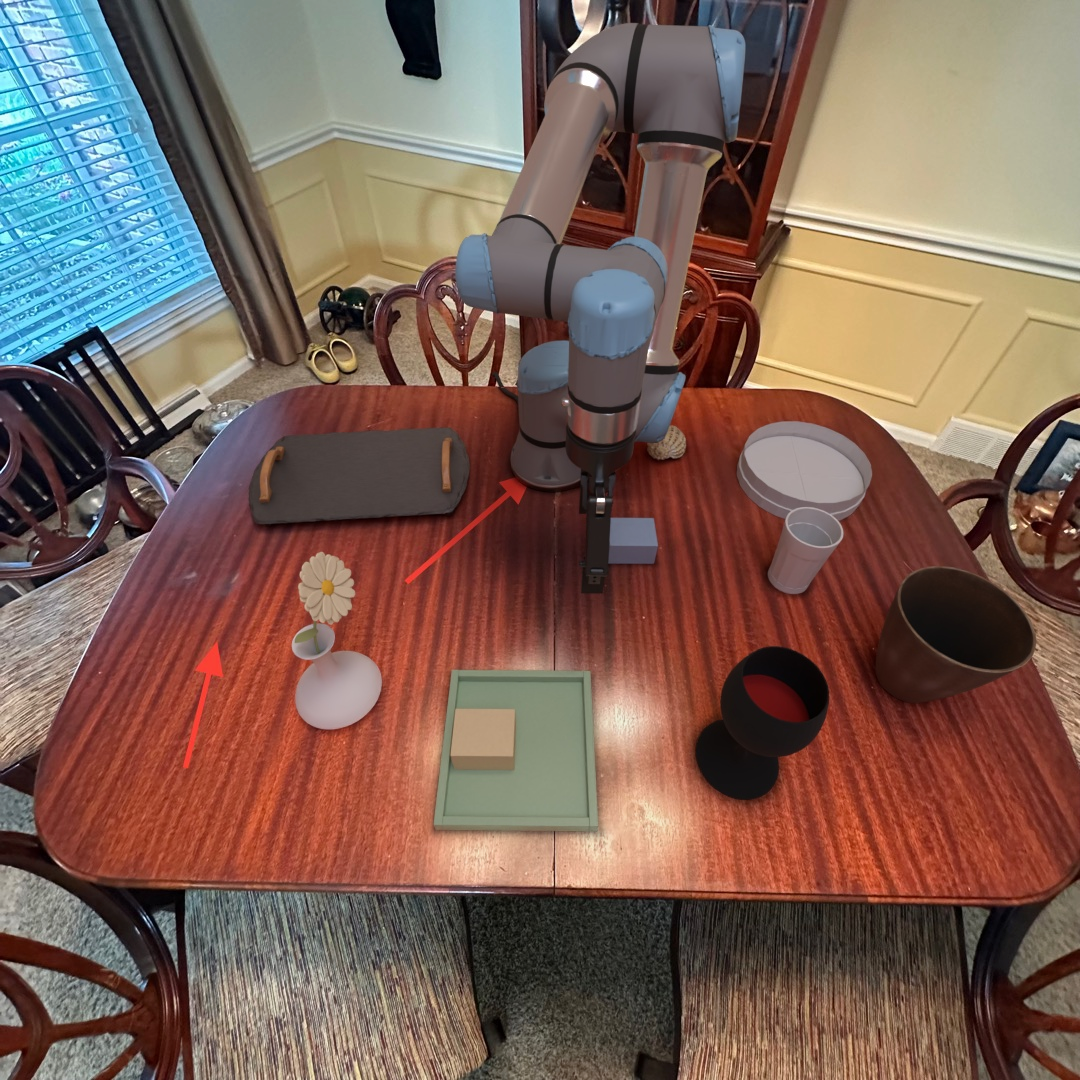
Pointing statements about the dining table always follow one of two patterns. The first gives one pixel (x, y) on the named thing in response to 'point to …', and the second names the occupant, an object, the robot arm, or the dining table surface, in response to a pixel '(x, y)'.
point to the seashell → (669, 445)
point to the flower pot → (950, 635)
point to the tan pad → (484, 739)
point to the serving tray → (359, 476)
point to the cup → (803, 548)
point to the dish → (803, 469)
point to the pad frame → (524, 755)
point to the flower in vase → (333, 678)
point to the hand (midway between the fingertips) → (590, 549)
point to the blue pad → (632, 541)
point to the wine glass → (762, 721)
